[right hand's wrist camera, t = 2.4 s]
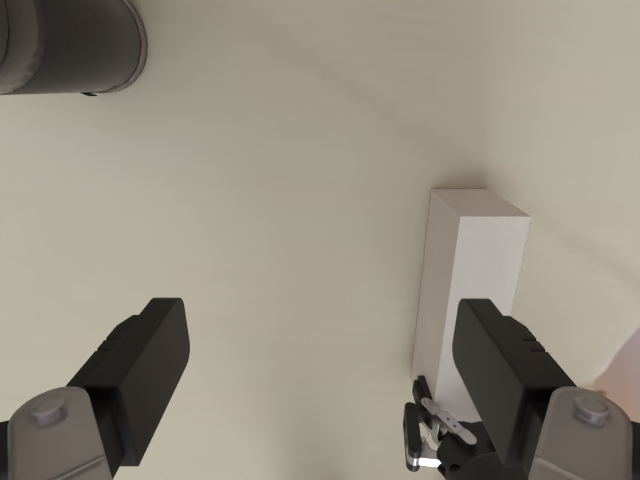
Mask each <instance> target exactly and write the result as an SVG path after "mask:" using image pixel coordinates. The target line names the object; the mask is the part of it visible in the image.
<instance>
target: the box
mask: <svg viewBox="0 0 640 480" xmlns="http://www.w3.org/2000/svg"><path fill="white" fill-rule="evenodd" d="M530 221H531V216H530V215H528V214H526V213H525V212H523V211H522V210H520V209H518V208H517V207H515V206H514V205H512V204H510V203H509V202H507V201H506V200H504V199H502V198H501V197H499V196H498V195H496V194H494V193H493V192H491V191H490V190H488V189H431V195H430V204H429V213H428V222H427V231H426V241H425V250H424V259H423V268H422V277H421V287H420V296H419V305H418V314H417V323H416V333H415V342H414V351H413V360H412V369H411V381H412V384H413V383H414V380H417V376H418V375H424V376H425V379H426V382H427V385H428V387H429V390H430V393H431V396H432V401H433V402H434V403H435V404H436V405H437V406H438V407H439V408H440V409H441V410H442V411H443V410H446V411H447V412H448V413H449V414H450V415H451V416H452V417H453V418H454V419H455V420H456V421H465V422H470V423H474V422H478V421H482V420H481V418H480V416H479V414H478V412H477V410H476V408H475V406H474V404H473V401H472V399H471V397H470V395H469V393H468V391H467V389H466V387H465V385H464V383H463V381H462V379H461V377H460V374H459V372H458V370H457V368H456V366H455V363H454V360H453V354H452V342H453V336H454V329H455V323H456V316H457V309H458V304H459V301H460V300H461V299H462V298H488V299H490V300H491V301H492V302H493V303H494V305H495V306H496V307H497V308H498V310H499V311H500V312H501V313H502V315H503V316H510V315H511V310H512V305H513V301H514V296H515V291H516V287H517V282H518V277H519V273H520V268H521V263H522V258H523V254H524V249H525V244H526V240H527V235H528V230H529V226H530ZM427 432H428V436H429V438H432V437H431V433H430V432H429V431H428V430H427ZM446 432H447V431H446Z"/></svg>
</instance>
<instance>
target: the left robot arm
mask: <svg viewBox="0 0 640 480" xmlns="http://www.w3.org/2000/svg"><path fill="white" fill-rule="evenodd" d="M412 393H413V396H414V400H415V403H416V404H414V403H411V402H408V403H406V404H405V410H404V419H403V429H404V442H405V455H406V466H407V468H408V469H409V470H410V471H413V472H416V471H418V470H419V467H420V465H424V466H432V467H437V469H438V470H439V472H440V473H441V474H442V475H443V476H444V478H445V479H446V480H527V479H528V475H527V473H526V471H525V470H524V468H504V466H503V464H502V462H501V460H500V457H499V455H498V453H497V451H496V449H495V447H494V445H493V443H492V441H491V439H490V437H489V435H488V433H487V430H486V428H485V426H484V424H483V422H482V421H478V422H474V423H470V422H465V421H456V420H455V419H454V418H453V417H452V416H451V415H450V414H449V413H448V412H447V411H446V410H443V411H442V410H441V409H440V408H439V407H438V406H437V405H436V404H435V403H434V402H433V401H432V396H431V393H430V390H429V387H428V385H427V382H426V379H425V376H424V375H418V376H417V380H414V383H413V391H412ZM419 423H422V424H423V425H424V426H425V428H426V429H427V430H428V431H429V432H430V433H431V437H432V439H433V441H434V442H435V443H436V444H437V445H438V446H439V448H438V450H437V451H434V450H432V449H431V448H430V447H429V444H428V442H427V441H426V439H425V438H424V437H421V436H420V428H419ZM446 431H447V432H446Z"/></svg>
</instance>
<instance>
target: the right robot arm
mask: <svg viewBox="0 0 640 480" xmlns="http://www.w3.org/2000/svg"><path fill="white" fill-rule="evenodd" d="M146 55H147V40H146V34H145V30H144V26H143V24H142V21H141V19H140V17H139V15H138V13H137V11H136V10H135V8H134V7H133V5H132V4H131V3H130V2H129V0H0V95H15V94H49V93H82V94H85V95H87V96H97V95H95V94H92V93H111V92H116V91H120V90H122V89H124V88H126V87H128V86H129V85H131V84H132V83H133V82H134V81H135V80H136V79H137V78H138V76H139V75H140V73H141V71H142V69H143V67H144V64H145V61H146ZM89 92H92V93H89ZM189 353H190V342H189V335H188V328H187V322H186V315H185V308H184V303H183V301H182V299H181V298H153V299H151V300H150V302H149V303H148V304H147V306H146V307H145V308H144V309H143V311H142V312H141V313H140V314H139V315H132V316H131V317H129V318H128V319H126V320H125V321H123V322H122V323H120V324H119V325H117V326H116V327H115V328H114V330H113V331H112V332H111V333H110V334H109V335H108V337H107V338H106V340H104V341H103V343H102V344H101V345H100V346H99V347H98V350H97V351H95V352H94V353H93V354H92V356H91V357H90V358H89V359H88V360H87V362H86V363H85V364H84V365H83V366H82V367H81V369H80V370H79V371H78V372H77V373H76V375H75V376H74V377H73V378H72V379H71V381H70V382H69V383H68V384H67V385H66V386H65V387H60V388H56V389H52V390H49V391H47V392H44V393H42V394H40V395H38V396H36V397H34V398H32V399H31V400H29V401H27V402H26V403H25V404H23V405H22V406H21V407H20V408H19V409H18V410H17V411H16V412H15V413H14V414H13V415H12V417H11V418H10V420H9V421H5V422H0V480H113V478H114V476H115V474H116V472H117V470H118V468H119V466H139V464H140V462H141V460H142V458H143V456H144V454H145V452H146V449H147V447H148V445H149V443H150V441H151V439H152V437H153V435H154V433H155V431H156V428H157V426H158V424H159V422H160V420H161V418H162V416H163V414H164V412H165V410H166V407H167V405H168V403H169V401H170V399H171V397H172V395H173V393H174V391H175V389H176V386H177V384H178V382H179V380H180V378H181V376H182V374H183V372H184V370H185V367H186V365H187V363H188V359H189ZM452 354H453V360H454V363H455V366H456V368H457V370H458V372H459V374H460V377H461V379H462V381H463V383H464V385H465V387H466V389H467V391H468V393H469V395H470V397H471V399H472V401H473V404H474V406H475V408H476V410H477V412H478V414H479V416H480V418H481V420H482V422H483V424H484V426H485V428H486V430H487V433H488V435H489V437H490V439H491V441H492V443H493V445H494V447H495V449H496V451H497V453H498V455H499V457H500V460H501V462H502V464H503V466H504V468H524V470H525V471H526V473H527V475H528V479H527V480H640V423H637V422H633V421H631V420H630V419H629V417H628V415H627V414H626V413H625V412H624V411H623V410H622V409H621V408H620V407H619V406H618V405H617V404H615V403H614V402H612V401H611V400H609V399H608V398H606V397H604V396H602V395H600V394H598V393H596V392H593V391H591V390H588V389H584V388H580V387H577V386H576V385H575V384H574V383H573V381H572V380H571V379H570V378H569V377H568V376H567V374H566V373H565V372H564V371H563V370H562V368H561V367H560V366H559V365H558V364H557V363H556V361H555V360H554V359H553V358H552V357H551V356H550V354H549V353H548V352H545V349H544V347H543V346H542V345H541V344H540V343H539V341H536V338H535V337H534V336H533V334H532V333H531V332H530V331H529V330H528V329H527V327H526V326H524V325H523V324H521V323H520V322H518V321H517V320H515V319H514V318H512V317H510V316H503V315H502V313H501V312H500V311H499V310H498V308H497V307H496V306H495V305H494V303H493V302H492V301H491V300H490V299H488V298H462V299H461V300H460V301H459V304H458V309H457V316H456V323H455V329H454V336H453V342H452Z"/></svg>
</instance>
